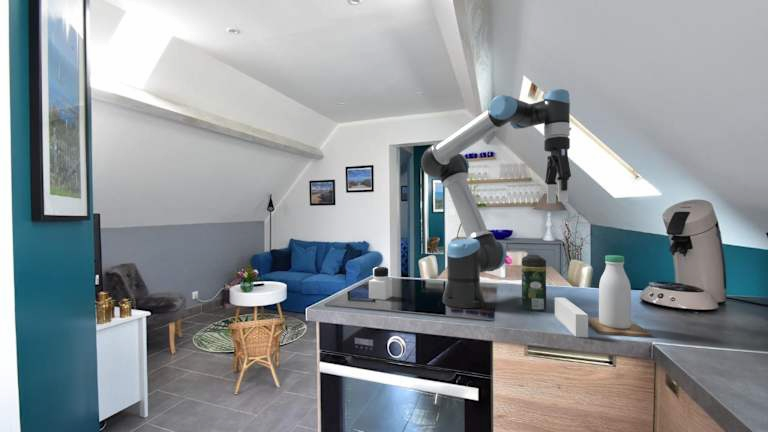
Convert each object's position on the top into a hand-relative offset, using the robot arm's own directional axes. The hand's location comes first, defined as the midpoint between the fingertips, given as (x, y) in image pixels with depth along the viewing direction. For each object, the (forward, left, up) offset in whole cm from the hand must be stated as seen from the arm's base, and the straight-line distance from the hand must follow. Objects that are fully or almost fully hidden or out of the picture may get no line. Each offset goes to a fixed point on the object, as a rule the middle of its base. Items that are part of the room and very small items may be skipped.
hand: (556, 202), depth 115 cm
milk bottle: (+12, -13, -36) cm, 40 cm away
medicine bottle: (-62, +11, -37) cm, 73 cm away
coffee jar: (-6, +6, -37) cm, 38 cm away
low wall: (0, -13, -37) cm, 39 cm away
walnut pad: (+12, -13, -37) cm, 41 cm away
